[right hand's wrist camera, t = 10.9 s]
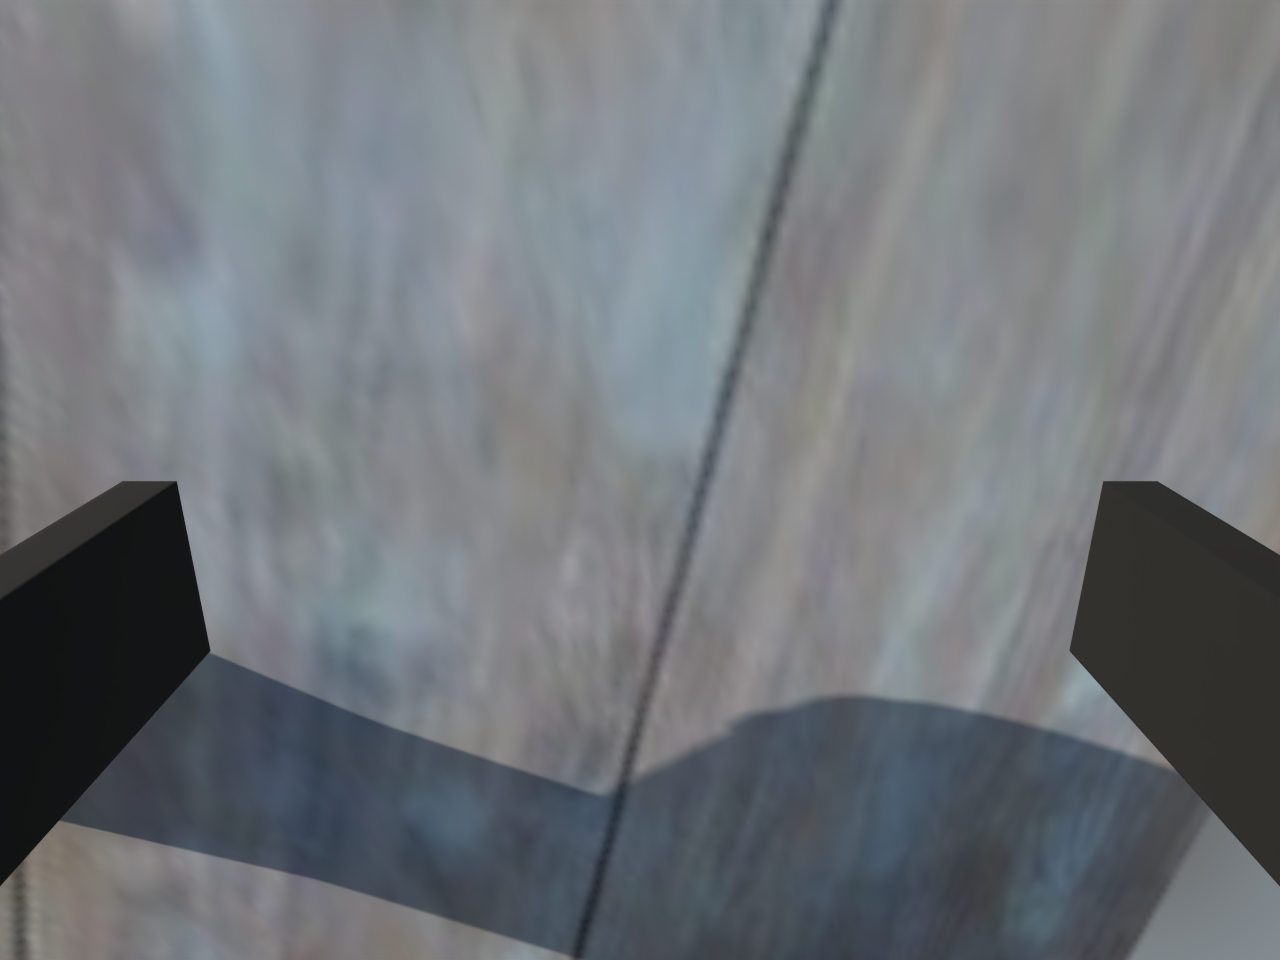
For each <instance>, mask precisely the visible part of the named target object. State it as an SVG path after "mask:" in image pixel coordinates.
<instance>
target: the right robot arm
mask: <svg viewBox="0 0 1280 960" xmlns="http://www.w3.org/2000/svg"><path fill="white" fill-rule="evenodd" d="M209 652H210V646H209V641H208V636H207V631H206V626H205V621H204V616H203V611H202V606H201V601H200V596H199V591H198V586H197V581H196V576H195V571H194V566H193V561H192V556H191V551H190V546H189V541H188V536H187V531H186V526H185V521H184V516H183V511H182V506H181V500H180V495H179V490H178V485H177V481H122V482H121V483H119V484H117V485H116V486H114V487H112V488H111V489H109V490H107V491H106V492H104V493H102V494H101V495H99V496H98V497H96V498H94V499H93V500H91V501H89V502H88V503H86V504H84V505H83V506H81V507H79V508H78V509H76V510H74V511H73V512H71V513H69V514H68V515H66V516H64V517H63V518H61V519H59V520H58V521H56V522H54V523H53V524H51V525H49V526H48V527H46V528H44V529H43V530H41V531H39V532H38V533H36V534H34V535H33V536H31V537H29V538H28V539H26V540H24V541H23V542H21V543H19V544H18V545H16V546H14V547H13V548H11V549H9V550H8V551H6V552H5V553H3V554H1V555H0V886H1V885H2V884H3V883H4V881H5V880H6V879H7V878H8V877H9V876H10V875H11V874H12V872H13V871H14V870H15V869H16V868H17V867H18V866H19V865H20V863H21V862H22V861H23V860H24V859H25V858H26V857H27V856H28V855H29V853H30V852H31V851H32V850H33V849H34V848H35V847H36V846H37V844H38V843H39V842H40V841H41V840H42V839H43V838H44V837H45V835H46V834H47V833H48V832H49V831H50V830H51V829H52V828H53V827H54V825H55V824H56V823H57V822H58V821H59V820H60V819H61V818H62V816H63V815H64V814H65V813H66V812H67V811H68V810H69V809H70V807H71V806H72V805H73V804H74V803H75V802H76V801H77V800H78V799H79V797H80V796H81V795H82V794H83V793H84V792H85V791H86V790H87V788H88V787H89V786H90V785H91V784H92V783H93V782H94V781H95V779H96V778H97V777H98V776H99V775H100V774H101V773H102V772H103V771H104V769H105V768H106V767H107V766H108V765H109V764H110V763H111V762H112V760H113V759H114V758H115V757H116V756H117V755H118V754H119V753H120V752H121V750H122V749H123V748H124V747H125V746H126V745H127V744H128V743H129V741H130V740H131V739H132V738H133V737H134V736H135V735H136V734H137V732H138V731H139V730H140V729H141V728H142V727H143V726H144V725H145V724H146V722H147V721H148V720H149V719H150V718H151V717H152V716H153V715H154V713H155V712H156V711H157V710H158V709H159V708H160V707H161V706H162V704H163V703H164V702H165V701H166V700H167V699H168V698H169V697H170V696H171V694H172V693H173V692H174V691H175V690H176V689H177V688H178V687H179V685H180V684H181V683H182V682H183V681H184V680H185V679H186V678H187V676H188V675H189V674H190V673H191V672H192V671H193V670H194V669H195V668H196V666H197V665H198V664H199V663H200V662H201V661H202V660H203V659H204V657H205V656H206V655H207V654H208V653H209ZM1070 652H1071V653H1072V654H1073V655H1074V656H1075V657H1076V659H1077V660H1078V661H1079V662H1080V663H1081V664H1082V665H1083V666H1084V668H1085V669H1086V670H1087V671H1088V672H1089V673H1090V674H1091V675H1092V676H1093V678H1094V679H1095V680H1096V681H1097V682H1098V683H1099V684H1100V685H1101V687H1102V688H1103V689H1104V690H1105V691H1106V692H1107V693H1108V694H1109V696H1110V697H1111V698H1112V699H1113V700H1114V701H1115V702H1116V703H1117V704H1118V706H1119V707H1120V708H1121V709H1122V710H1123V711H1124V712H1125V713H1126V715H1127V716H1128V717H1129V718H1130V719H1131V720H1132V721H1133V722H1134V724H1135V725H1136V726H1137V727H1138V728H1139V729H1140V730H1141V731H1142V732H1143V734H1144V735H1145V736H1146V737H1147V738H1148V739H1149V740H1150V741H1151V743H1152V744H1153V745H1154V746H1155V747H1156V748H1157V749H1158V750H1159V752H1160V753H1161V754H1162V755H1163V756H1164V757H1165V758H1166V759H1167V760H1168V762H1169V763H1170V764H1171V765H1172V766H1173V767H1174V768H1175V769H1176V771H1177V772H1178V773H1179V774H1180V775H1181V776H1182V777H1183V778H1184V779H1185V781H1186V782H1187V783H1188V784H1189V785H1190V786H1191V787H1192V788H1193V790H1194V791H1195V792H1196V793H1197V794H1198V795H1199V796H1200V797H1201V799H1202V800H1203V801H1204V802H1205V803H1206V804H1207V805H1208V806H1209V807H1210V809H1211V810H1212V811H1213V812H1214V813H1215V814H1216V815H1217V816H1218V818H1219V819H1220V820H1221V821H1222V822H1223V823H1224V824H1225V825H1226V826H1227V828H1228V829H1229V830H1230V831H1231V832H1232V833H1233V834H1234V835H1235V837H1236V838H1237V839H1238V840H1239V841H1240V842H1241V843H1242V844H1243V846H1244V847H1245V848H1246V849H1247V850H1248V851H1249V852H1250V853H1251V855H1252V856H1253V857H1254V858H1255V859H1256V860H1257V861H1258V862H1259V863H1260V865H1261V866H1262V867H1263V868H1264V869H1265V870H1266V871H1267V872H1268V874H1269V875H1270V876H1271V877H1272V878H1273V879H1274V880H1275V881H1276V883H1277V884H1278V885H1279V886H1280V555H1279V554H1277V553H1275V552H1274V551H1272V550H1270V549H1269V548H1267V547H1266V546H1264V545H1262V544H1261V543H1259V542H1257V541H1256V540H1254V539H1252V538H1251V537H1249V536H1247V535H1246V534H1244V533H1242V532H1241V531H1239V530H1237V529H1236V528H1234V527H1232V526H1231V525H1229V524H1227V523H1226V522H1224V521H1222V520H1221V519H1219V518H1217V517H1216V516H1214V515H1212V514H1211V513H1209V512H1207V511H1206V510H1204V509H1202V508H1201V507H1199V506H1197V505H1196V504H1194V503H1192V502H1191V501H1189V500H1187V499H1186V498H1184V497H1182V496H1181V495H1179V494H1178V493H1176V492H1174V491H1173V490H1171V489H1169V488H1168V487H1166V486H1164V485H1163V484H1161V483H1159V482H1158V481H1103V485H1102V490H1101V495H1100V500H1099V506H1098V511H1097V516H1096V521H1095V526H1094V531H1093V536H1092V541H1091V546H1090V551H1089V556H1088V561H1087V566H1086V571H1085V576H1084V581H1083V586H1082V591H1081V596H1080V601H1079V606H1078V611H1077V616H1076V621H1075V626H1074V631H1073V636H1072V641H1071V646H1070Z"/></svg>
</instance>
